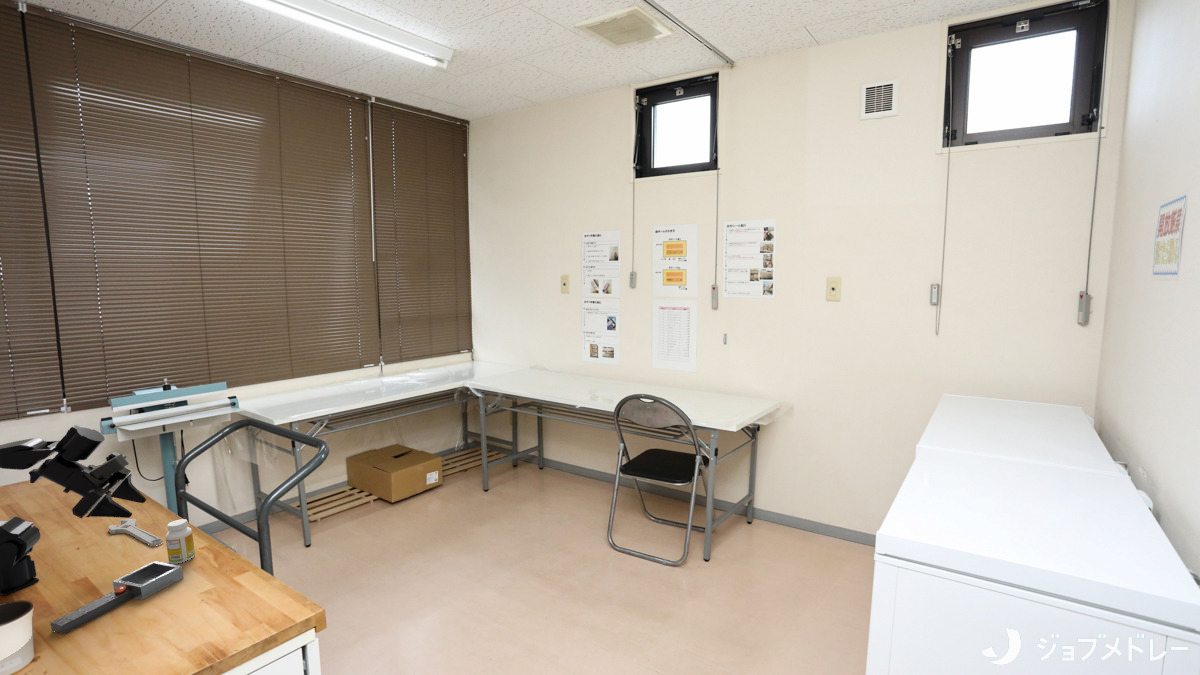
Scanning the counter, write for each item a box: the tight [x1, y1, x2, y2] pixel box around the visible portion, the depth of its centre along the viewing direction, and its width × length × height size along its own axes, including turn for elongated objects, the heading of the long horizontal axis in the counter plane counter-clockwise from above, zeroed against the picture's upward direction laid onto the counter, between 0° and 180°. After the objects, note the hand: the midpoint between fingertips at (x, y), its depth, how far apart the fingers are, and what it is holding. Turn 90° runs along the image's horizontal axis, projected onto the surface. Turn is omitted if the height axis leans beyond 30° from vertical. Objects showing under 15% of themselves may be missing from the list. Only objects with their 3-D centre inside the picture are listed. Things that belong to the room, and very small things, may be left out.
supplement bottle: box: [165, 518, 196, 565], centre depth 141 cm, size 5×5×10 cm
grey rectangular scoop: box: [50, 560, 184, 635], centre depth 124 cm, size 22×9×3 cm, turn 162°
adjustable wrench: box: [108, 518, 163, 547], centre depth 155 cm, size 25×6×2 cm, turn 55°
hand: (138, 508), depth 139 cm, fingers open, 9 cm apart
